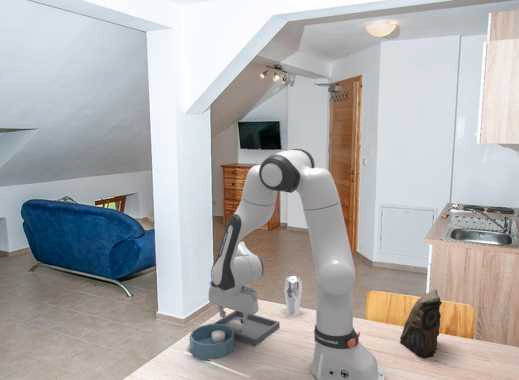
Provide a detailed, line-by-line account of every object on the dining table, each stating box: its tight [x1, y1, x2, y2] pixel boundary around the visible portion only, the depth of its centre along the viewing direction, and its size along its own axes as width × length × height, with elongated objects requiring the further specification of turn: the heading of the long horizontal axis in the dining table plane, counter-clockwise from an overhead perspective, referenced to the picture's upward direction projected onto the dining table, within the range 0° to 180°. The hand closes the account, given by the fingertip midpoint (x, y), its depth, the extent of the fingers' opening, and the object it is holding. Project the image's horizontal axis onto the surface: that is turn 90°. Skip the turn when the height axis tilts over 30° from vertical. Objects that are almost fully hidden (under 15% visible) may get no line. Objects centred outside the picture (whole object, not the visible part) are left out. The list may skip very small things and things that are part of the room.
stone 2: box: [229, 320, 242, 333], centre depth 156 cm, size 5×5×3 cm
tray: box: [213, 310, 280, 347], centre depth 158 cm, size 20×16×3 cm
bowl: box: [189, 323, 236, 362], centre depth 145 cm, size 15×15×6 cm
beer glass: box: [284, 275, 303, 317], centre depth 171 cm, size 7×7×15 cm
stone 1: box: [212, 330, 225, 344], centre depth 148 cm, size 5×5×3 cm
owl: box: [399, 288, 443, 360], centre depth 143 cm, size 13×13×20 cm
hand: (233, 319), depth 156 cm, fingers open, 8 cm apart
